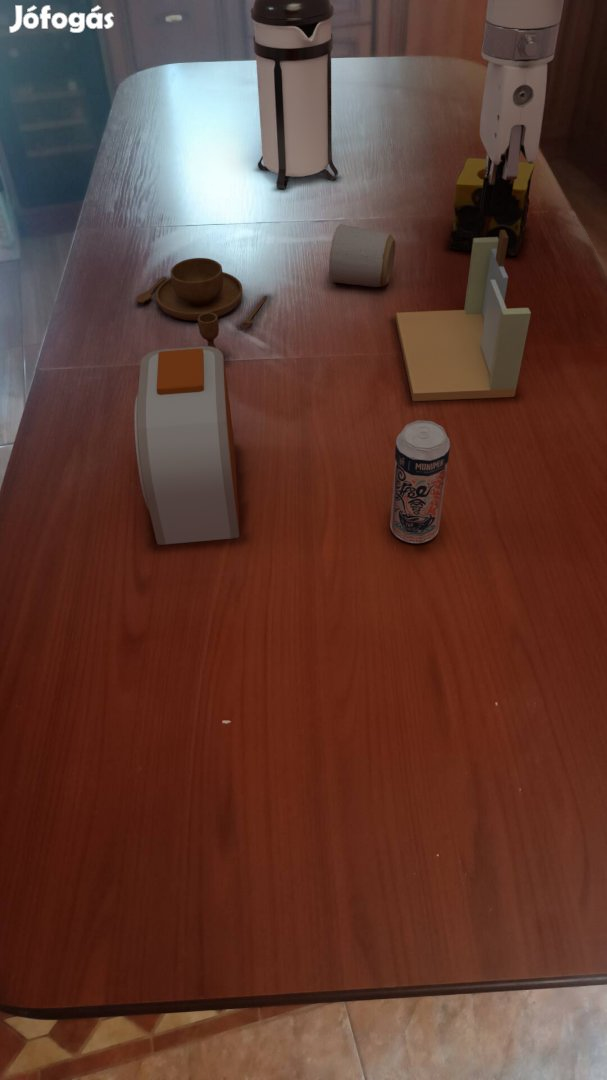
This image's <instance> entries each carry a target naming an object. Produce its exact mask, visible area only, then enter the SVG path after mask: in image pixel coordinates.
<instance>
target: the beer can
mask: <svg viewBox="0 0 607 1080" xmlns="http://www.w3.org/2000/svg"><path fill="white" fill-rule="evenodd" d="M450 447H451V442H450V439H449V437H448V436H447V433H446V431H445V429H444V427H443V426H442V425H439V424H438V423H436V422H434V421H430V420H419V419H417V420H415V421H413V422H410V423H407V424H406V425H405V426H404V428H403V429H402V430H401V432H400V433H399V434H398V435H397V437H396V439H395V450H394V451H395V452H394V467H393V481H392V494H391V507H390V508H391V510H390V520H389V521H390V525H389V526H390V530H391V532H392V534H393V535H394V536H395V537H396V538H398V539H400V540H401V541H403V542H406V543H411V544H423V543H426V542H429V541H431V540H433V539H434V538H435V537H436V536H437V535H438V533H439V530H440V526H441V517H442V509H443V502H444V495H445V487H446V479H447V474H448V473H447V472H448V465H449V464H448V463H449V457H450V451H451V450H450V449H451V448H450Z"/></svg>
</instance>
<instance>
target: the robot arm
mask: <svg viewBox="0 0 607 1080" xmlns="http://www.w3.org/2000/svg"><path fill="white" fill-rule="evenodd" d="M564 2H565V0H487V4H486V5H487V6H486V13H485V14H486V15H485V21H484V31H483V38H482V47H481V54H480V55H481V57H482V59H484V61H487V62H488V64H487V67H486V68H487V69H486V74H485V75H486V76H485V82H484V88H483V95H482V101H481V102H482V103H481V108H480V109H481V110H480V119H479V137H480V140H481V142H482V145H483V147H484V149H485V151H486V158H485V159H486V166H485V177H489V178H484V181H483V188H482V196H481V203H480V211H481V213H482V216H484V217H495V216H507V215H508V214H509V208H510V202H511V196H512V190H513V184H514V180H515V179H517V173H518V163H519V162H520V155H521V154H522V156H523V158H524V159H525V162H528V163H529V164H533V163H535V162H536V161H537V159H538V154H539V148H540V140H541V133H542V126H543V119H544V111H545V104H546V103H545V102H546V95H547V94H546V92H547V81H548V79H547V78H548V63H550V62H551V61H553V60H554V58H555V52H556V47H557V41H558V37H559V36H558V35H559V31H560V24H561V19H562V13H563V8H564Z"/></svg>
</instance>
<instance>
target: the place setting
mask: <svg viewBox="0 0 607 1080" xmlns="http://www.w3.org/2000/svg"><path fill="white" fill-rule="evenodd" d="M155 289H156V291H155ZM153 291H155V299H156V303H157V304H158V307H159V308H160V309H161V310H162V311H163V312H164V313H166V314H167V315H169V316H170V317H173V318H176V319H178V320H182V321H183V320H184V321H193V322H194V321H195V322H196V321H197V325H198V331H199V334H200V336H201V338H202V339H204V340H206V342H207V346H210V347H214V348H217V347H216V345H215V339H217V338H218V336H219V331H220V328H219V326H220V325H219V317H222V316H224V315H226V314H228V313H229V312H231V311H232V310H234V309H235V308H237V306H238V305H239V303H240V302H241V300H242V298H243V284H242V282H241V281H240V280H239V279H238V278H237V277H236V276H234V275H232V274H230V273H227V272H225V271H223V266H222V265H221V263H220V262H218V261H217V260H216V259H215V260H214V259H212V258H208V257H193V258H187V259H183V260H181V261H179V262H177V263H176V264H174V265H173V267H172V268H171V270H170V277H168V278H167V279H166V276H163V277H161V278H160V279H158V280H157V281H156V283H155V284H153V285H152V287H150V289H148V290H147V291H145V292H142V293H140V294H138V295H137V296H136V298H135V301H136V303H137V304H144V303H147V302H148V301H150V300H151V298H152V292H153ZM267 297H268V296H267V295H264V296H263V297H262V298H261V299H260V301H259V302H258V304H257V305H256V306H255V307H254V309H253V310H252V312H251V313H250V315H249V316H248V317H247V318H246V319H245V320H244V321H242V323H240V324H239V325H237V327H236V328H237V329H238V328H239V329H245V330H246V329H248V328H249V327H250V326H252V325H253V321H252V319H253V317H254V316H255V315H256V314H257V312H258V311H259V309H260V308H261V307H262V306H263V304H264V302H265V301H266V300H267Z"/></svg>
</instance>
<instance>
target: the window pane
mask: <svg viewBox="0 0 607 1080" xmlns="http://www.w3.org/2000/svg"><path fill="white" fill-rule="evenodd" d="M507 243H508V235H507V233H506V231H505V230H500V233H499V240H498V246H497V250H496V249H491V255H490V262H489V269H488V275H487V282H486V289H485V296H484V303H483V309H482V314H483V317H484V318H485V311H486V304H487V298H488V291H489V284H490V280H495V281H496V283H497V286H498V288H499V291H500V293H501V296H502V298H503V300H504V301H505V300H506V293H507V287H508V281H509V276H508V273H507V272H506V268H505V267H504V266H505V261H506V257H507V256H506V249H507Z"/></svg>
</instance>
